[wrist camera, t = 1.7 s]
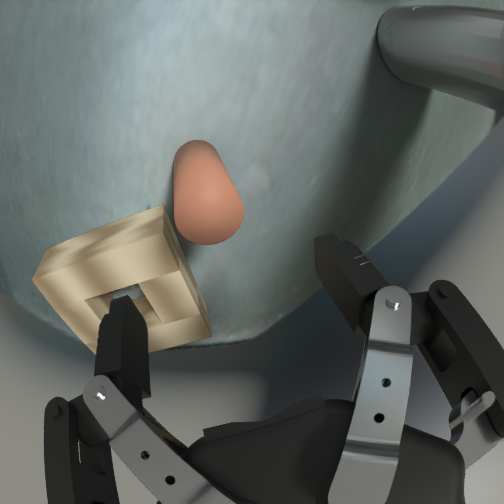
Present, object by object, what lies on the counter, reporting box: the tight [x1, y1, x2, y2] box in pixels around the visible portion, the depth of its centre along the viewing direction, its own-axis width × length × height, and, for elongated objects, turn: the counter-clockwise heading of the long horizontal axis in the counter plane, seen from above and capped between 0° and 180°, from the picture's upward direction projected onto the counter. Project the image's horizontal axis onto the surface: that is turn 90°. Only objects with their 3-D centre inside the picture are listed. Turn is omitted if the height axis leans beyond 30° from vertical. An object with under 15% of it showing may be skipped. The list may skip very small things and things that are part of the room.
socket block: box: [32, 205, 212, 354], centre depth 27 cm, size 14×14×5 cm
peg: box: [174, 140, 244, 245], centre depth 20 cm, size 4×4×10 cm
